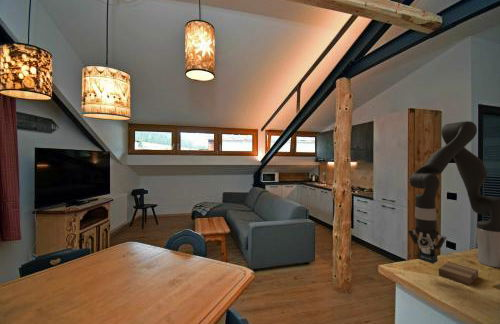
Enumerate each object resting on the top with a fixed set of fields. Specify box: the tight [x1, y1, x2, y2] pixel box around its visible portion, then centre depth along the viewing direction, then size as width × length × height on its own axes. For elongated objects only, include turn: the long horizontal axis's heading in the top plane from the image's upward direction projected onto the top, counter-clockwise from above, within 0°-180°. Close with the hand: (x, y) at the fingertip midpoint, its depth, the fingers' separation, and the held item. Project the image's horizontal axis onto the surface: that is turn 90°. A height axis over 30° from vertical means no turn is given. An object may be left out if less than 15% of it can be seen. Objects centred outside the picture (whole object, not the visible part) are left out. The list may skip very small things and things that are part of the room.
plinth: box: [438, 261, 479, 286], centre depth 96 cm, size 12×10×3 cm
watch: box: [417, 237, 439, 265], centre depth 96 cm, size 6×8×11 cm
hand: (427, 255), depth 96 cm, fingers closed on watch, 3 cm apart
